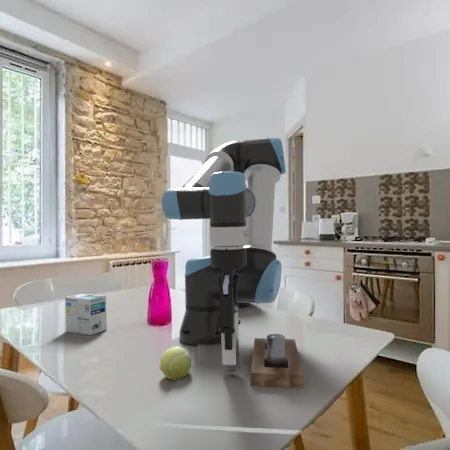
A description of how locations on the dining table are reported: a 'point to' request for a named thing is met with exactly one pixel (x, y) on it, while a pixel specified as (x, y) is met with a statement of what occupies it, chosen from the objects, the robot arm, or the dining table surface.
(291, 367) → the socket board
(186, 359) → the tennis ball
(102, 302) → the light bulb box
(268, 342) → the seated stud
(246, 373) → the dining table surface
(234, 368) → the stud
